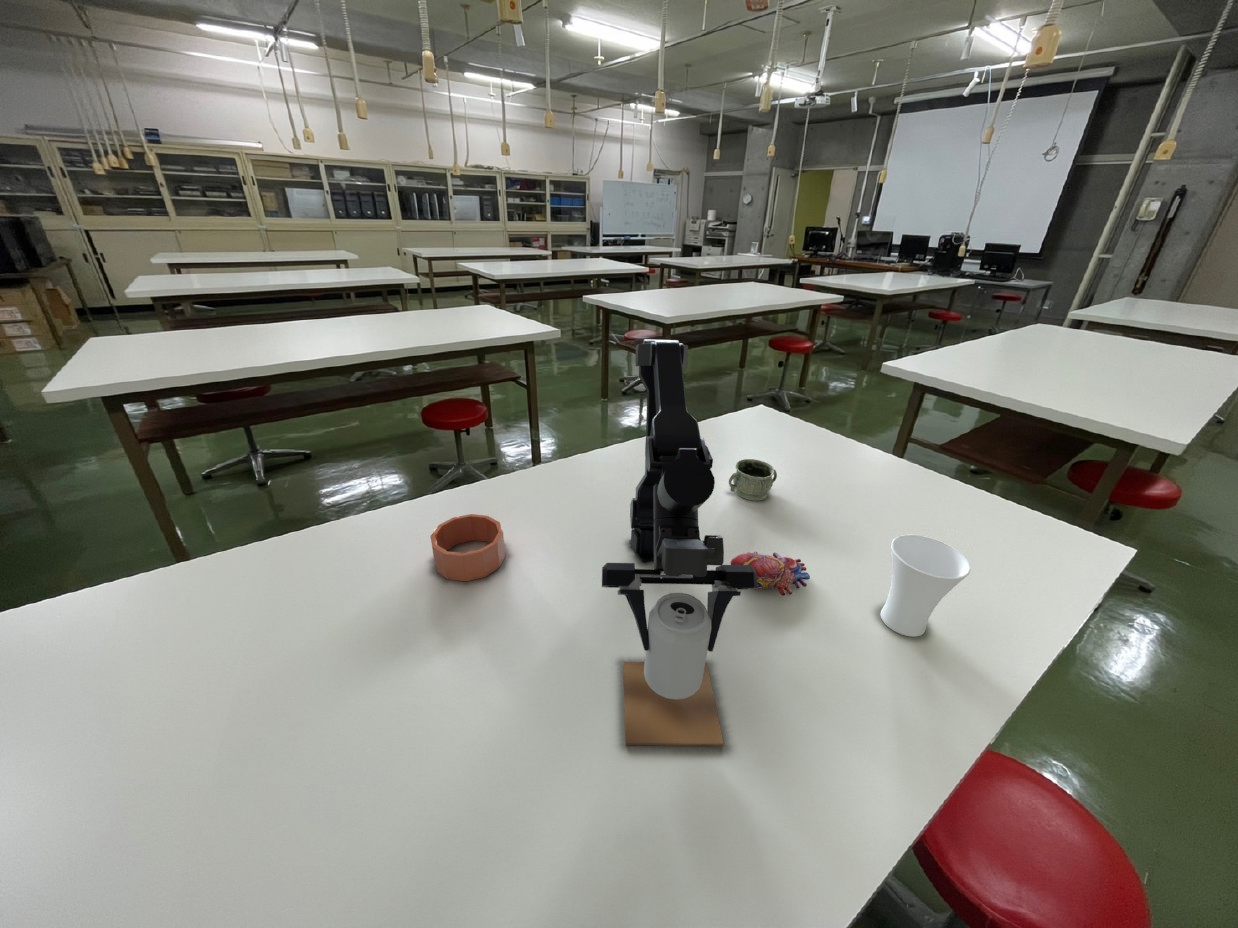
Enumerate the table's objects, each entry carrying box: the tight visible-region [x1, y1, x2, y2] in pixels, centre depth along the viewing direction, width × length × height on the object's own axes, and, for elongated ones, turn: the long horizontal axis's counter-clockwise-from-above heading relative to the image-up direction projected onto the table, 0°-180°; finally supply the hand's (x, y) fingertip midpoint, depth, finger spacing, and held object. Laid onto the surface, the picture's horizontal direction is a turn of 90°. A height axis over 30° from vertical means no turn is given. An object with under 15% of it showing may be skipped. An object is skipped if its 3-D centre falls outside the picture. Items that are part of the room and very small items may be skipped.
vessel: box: [728, 458, 778, 501], centre depth 113 cm, size 12×9×6 cm
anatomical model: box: [730, 551, 811, 596], centre depth 87 cm, size 11×4×15 cm
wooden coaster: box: [622, 661, 724, 747], centre depth 66 cm, size 12×12×1 cm
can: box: [644, 592, 711, 700], centre depth 61 cm, size 8×8×12 cm
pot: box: [430, 513, 506, 582], centre depth 89 cm, size 12×12×6 cm
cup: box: [880, 533, 972, 638], centre depth 77 cm, size 10×10×14 cm
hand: (678, 650), depth 60 cm, fingers closed on can, 7 cm apart
